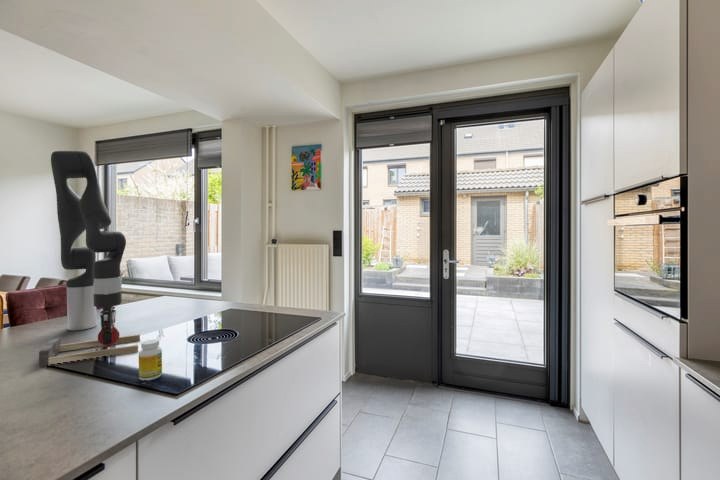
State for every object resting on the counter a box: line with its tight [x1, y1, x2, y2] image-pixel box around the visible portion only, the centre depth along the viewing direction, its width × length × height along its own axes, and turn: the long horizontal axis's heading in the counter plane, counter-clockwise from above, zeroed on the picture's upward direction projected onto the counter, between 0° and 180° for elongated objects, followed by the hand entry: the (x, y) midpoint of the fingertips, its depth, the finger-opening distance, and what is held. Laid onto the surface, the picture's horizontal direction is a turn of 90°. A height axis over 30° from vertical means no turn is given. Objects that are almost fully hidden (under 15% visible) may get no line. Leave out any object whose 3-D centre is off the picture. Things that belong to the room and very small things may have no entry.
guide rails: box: [38, 333, 141, 368], centre depth 110 cm, size 14×24×4 cm, turn 121°
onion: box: [97, 326, 121, 348], centre depth 112 cm, size 6×6×8 cm
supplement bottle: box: [138, 339, 163, 381], centre depth 91 cm, size 5×5×10 cm
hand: (108, 340), depth 112 cm, fingers closed on onion, 6 cm apart
